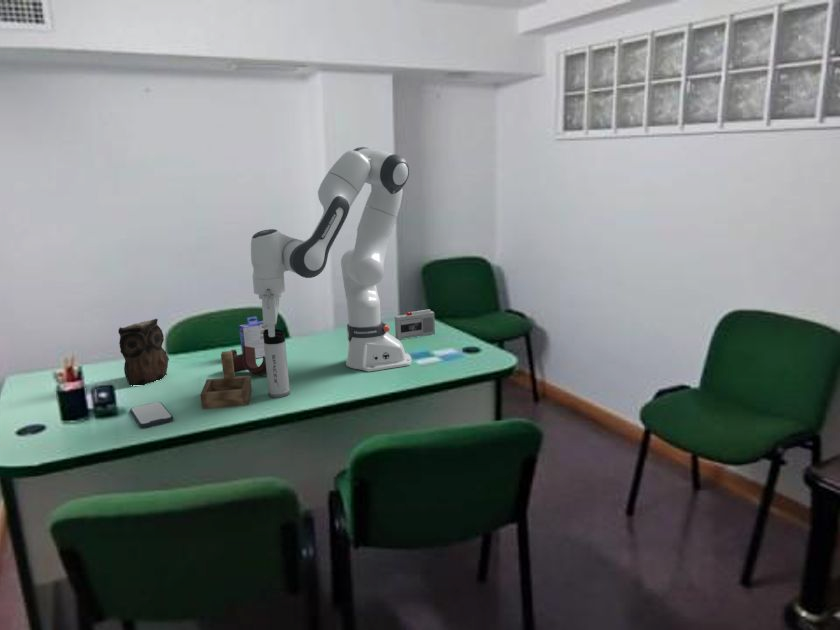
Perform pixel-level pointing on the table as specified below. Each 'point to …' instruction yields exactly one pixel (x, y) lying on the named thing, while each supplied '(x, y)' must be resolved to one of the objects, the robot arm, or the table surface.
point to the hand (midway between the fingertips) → (272, 332)
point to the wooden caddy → (226, 387)
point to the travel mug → (276, 364)
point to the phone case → (151, 415)
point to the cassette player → (415, 324)
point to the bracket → (248, 361)
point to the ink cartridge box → (253, 336)
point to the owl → (143, 352)
